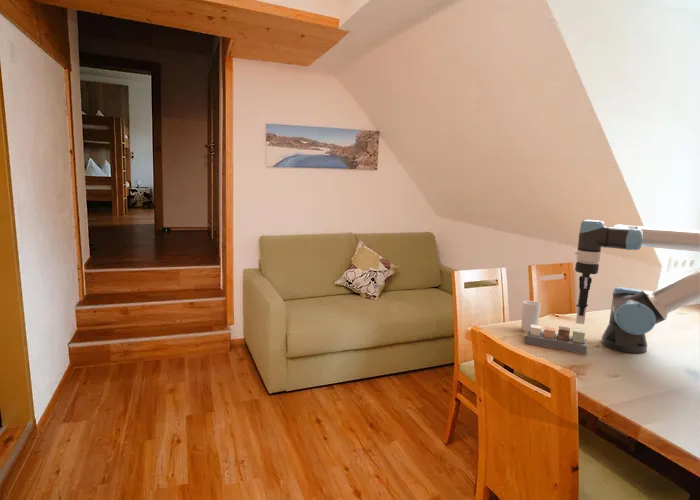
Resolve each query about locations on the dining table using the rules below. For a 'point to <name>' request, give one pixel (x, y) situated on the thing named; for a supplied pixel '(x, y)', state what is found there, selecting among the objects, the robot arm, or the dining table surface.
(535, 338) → the grey slotted rack
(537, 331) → the key ivory
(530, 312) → the mug
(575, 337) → the key sage
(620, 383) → the dining table surface
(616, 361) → the dining table surface
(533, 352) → the dining table surface
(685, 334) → the dining table surface
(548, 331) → the key terracotta
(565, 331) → the key walnut
